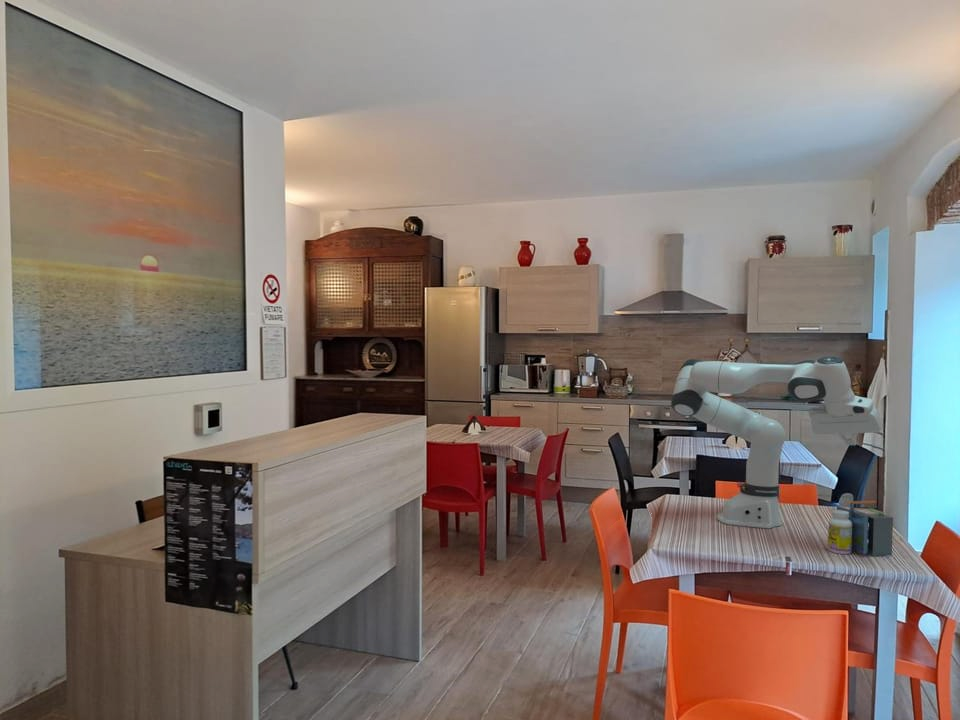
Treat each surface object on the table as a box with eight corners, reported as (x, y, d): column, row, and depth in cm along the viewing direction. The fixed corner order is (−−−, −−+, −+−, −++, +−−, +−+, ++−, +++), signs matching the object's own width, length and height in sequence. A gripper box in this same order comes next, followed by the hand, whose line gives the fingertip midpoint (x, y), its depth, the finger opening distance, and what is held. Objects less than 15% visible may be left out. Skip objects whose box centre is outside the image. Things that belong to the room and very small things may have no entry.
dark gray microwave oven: (872, 556, 211) (873, 515, 210) (844, 545, 222) (845, 506, 222) (891, 555, 212) (893, 515, 212) (862, 544, 224) (863, 505, 223)
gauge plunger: (863, 553, 210) (865, 506, 210) (835, 542, 222) (837, 497, 221) (891, 552, 212) (893, 505, 212) (862, 541, 224) (863, 496, 223)
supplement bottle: (824, 548, 219) (825, 508, 219) (845, 548, 218) (846, 509, 218) (833, 554, 212) (834, 513, 212) (855, 555, 212) (856, 514, 211)
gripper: (803, 411, 220) (814, 449, 223) (873, 407, 206) (883, 448, 208) (810, 403, 224) (820, 440, 227) (878, 399, 210) (888, 439, 212)
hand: (851, 444), depth 217 cm, fingers closed
